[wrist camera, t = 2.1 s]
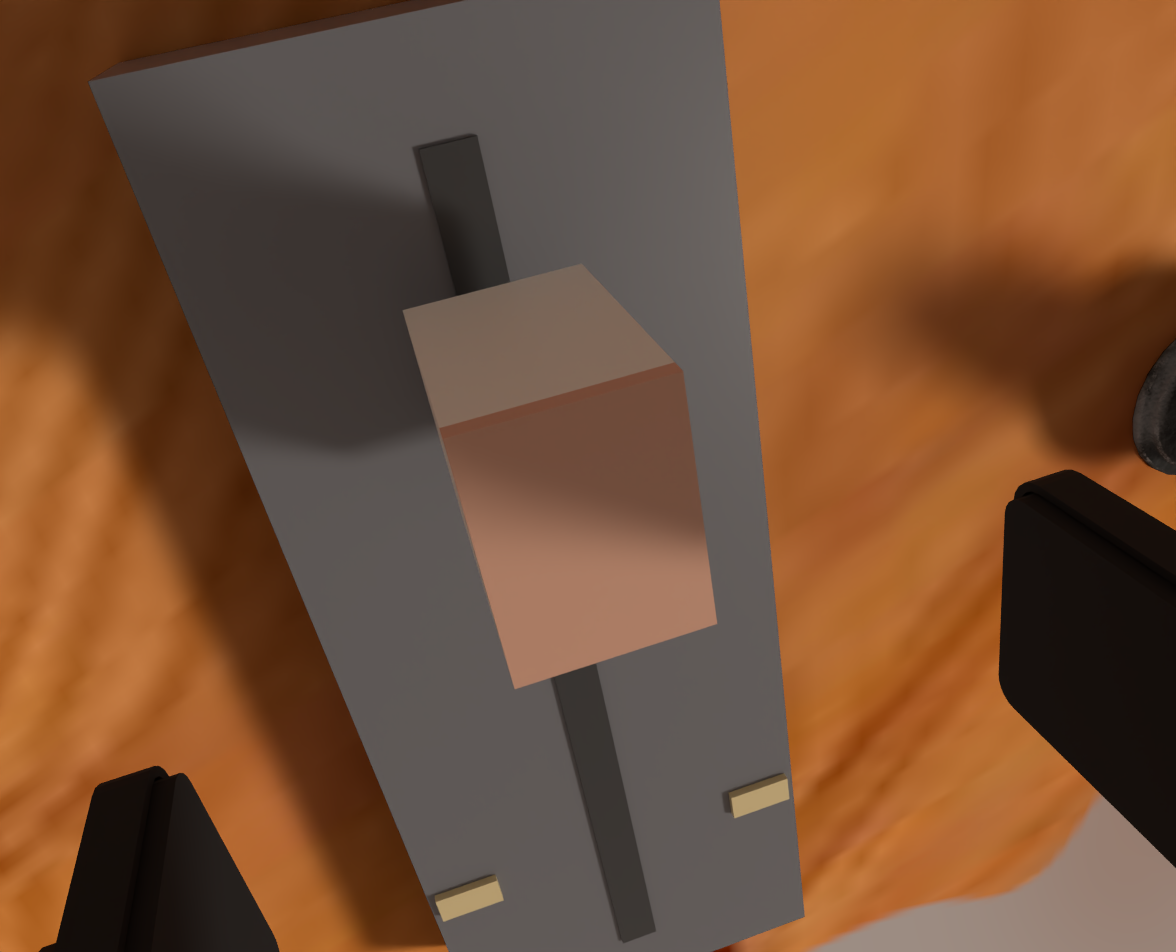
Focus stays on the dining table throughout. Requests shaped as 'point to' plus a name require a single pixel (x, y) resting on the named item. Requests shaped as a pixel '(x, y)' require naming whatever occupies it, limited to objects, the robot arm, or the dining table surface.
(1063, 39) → the dining table surface
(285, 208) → the console
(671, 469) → the fader
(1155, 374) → the dark chess piece
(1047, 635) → the robot arm
